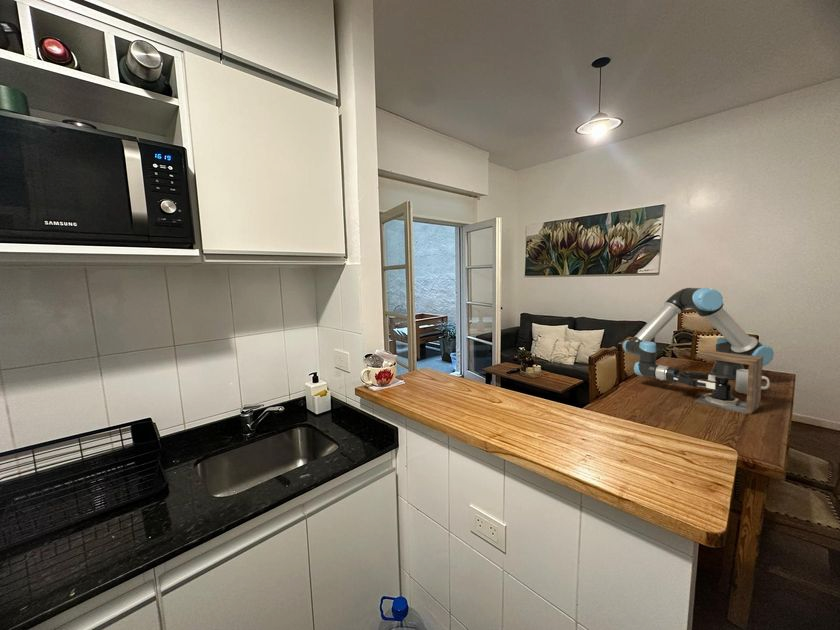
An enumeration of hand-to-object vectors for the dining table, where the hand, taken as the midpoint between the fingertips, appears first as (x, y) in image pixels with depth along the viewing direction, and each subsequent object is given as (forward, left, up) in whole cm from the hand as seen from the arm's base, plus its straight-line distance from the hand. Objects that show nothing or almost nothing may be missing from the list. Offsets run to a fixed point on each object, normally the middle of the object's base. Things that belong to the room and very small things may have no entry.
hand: (720, 383), depth 154 cm
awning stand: (0, +2, -10) cm, 10 cm away
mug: (-28, +5, -10) cm, 30 cm away
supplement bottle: (0, +1, -9) cm, 9 cm away
